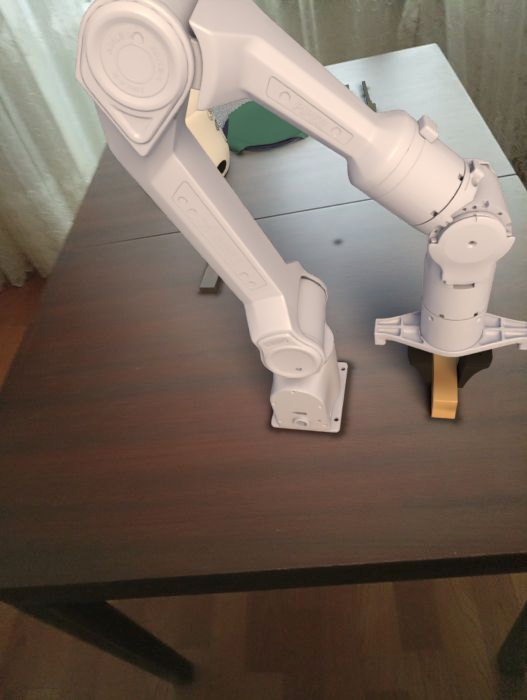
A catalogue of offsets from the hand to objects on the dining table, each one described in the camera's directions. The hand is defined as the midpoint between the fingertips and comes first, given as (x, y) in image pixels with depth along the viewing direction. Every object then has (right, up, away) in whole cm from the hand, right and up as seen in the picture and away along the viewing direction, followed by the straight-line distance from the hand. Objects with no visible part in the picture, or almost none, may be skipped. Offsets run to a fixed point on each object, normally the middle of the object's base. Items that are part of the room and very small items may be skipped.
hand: (443, 379), depth 56 cm
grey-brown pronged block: (-27, +18, +23) cm, 40 cm away
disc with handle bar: (+1, +1, +3) cm, 3 cm away
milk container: (-34, +35, +39) cm, 63 cm away
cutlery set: (-13, +48, +43) cm, 66 cm away
